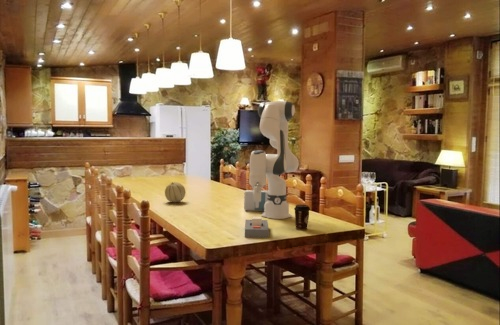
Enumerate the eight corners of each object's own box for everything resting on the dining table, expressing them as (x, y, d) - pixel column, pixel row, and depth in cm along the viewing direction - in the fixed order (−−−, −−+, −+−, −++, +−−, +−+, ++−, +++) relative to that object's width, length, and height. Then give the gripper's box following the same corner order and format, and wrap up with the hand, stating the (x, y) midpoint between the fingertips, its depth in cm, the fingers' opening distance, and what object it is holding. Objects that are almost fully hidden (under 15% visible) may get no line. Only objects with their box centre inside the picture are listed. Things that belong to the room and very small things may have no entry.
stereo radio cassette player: (244, 211, 271) (244, 181, 269) (244, 208, 279) (245, 179, 278) (275, 212, 271) (276, 182, 269) (275, 209, 279) (275, 180, 277)
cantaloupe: (188, 201, 303) (188, 181, 302) (180, 204, 289) (180, 183, 288) (170, 200, 307) (170, 180, 306) (161, 203, 293) (161, 182, 291)
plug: (251, 230, 219) (252, 217, 218) (261, 230, 219) (261, 217, 218) (251, 231, 215) (252, 218, 215) (261, 231, 215) (261, 218, 215)
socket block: (245, 226, 228) (245, 218, 228) (266, 227, 228) (267, 219, 228) (244, 237, 206) (244, 228, 206) (268, 237, 206) (268, 228, 206)
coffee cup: (308, 227, 230) (308, 204, 229) (310, 230, 222) (311, 207, 221) (292, 226, 230) (293, 204, 229) (294, 230, 222) (295, 206, 221)
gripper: (264, 184, 204) (263, 211, 206) (263, 179, 225) (262, 204, 226) (251, 183, 204) (250, 211, 206) (251, 178, 225) (250, 203, 226)
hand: (256, 207), depth 216 cm, fingers closed
